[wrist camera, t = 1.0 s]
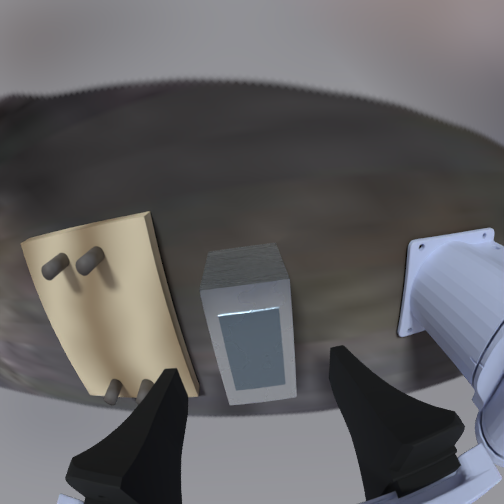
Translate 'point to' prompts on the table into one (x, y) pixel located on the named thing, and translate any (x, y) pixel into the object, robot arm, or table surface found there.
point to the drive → (250, 322)
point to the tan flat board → (111, 305)
